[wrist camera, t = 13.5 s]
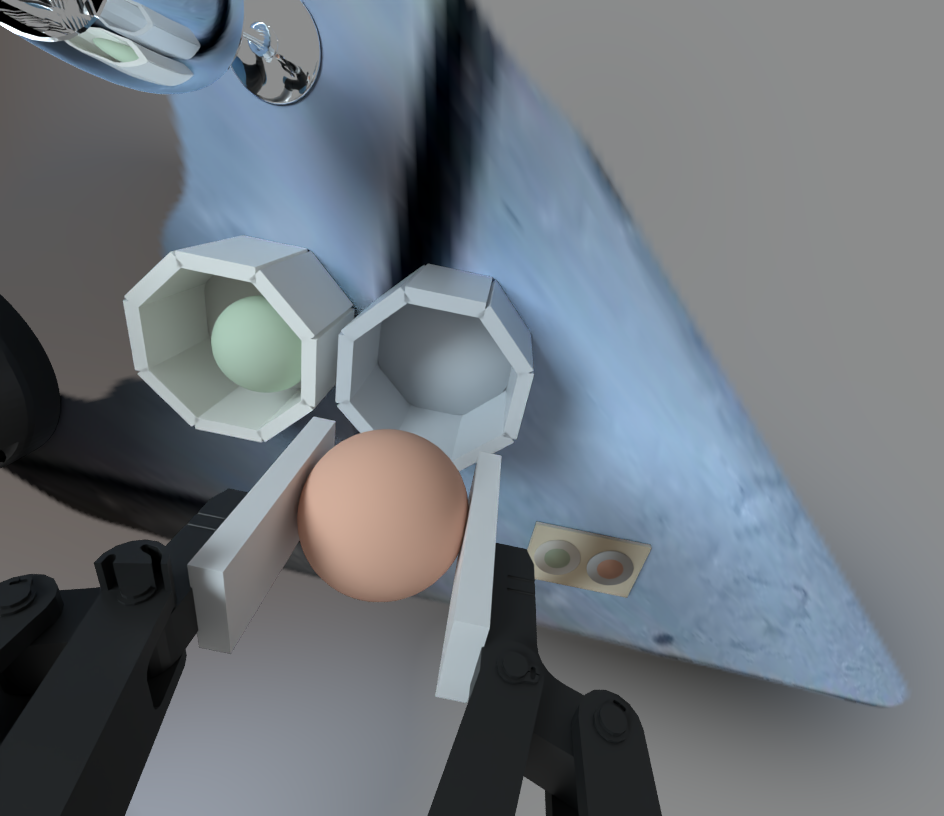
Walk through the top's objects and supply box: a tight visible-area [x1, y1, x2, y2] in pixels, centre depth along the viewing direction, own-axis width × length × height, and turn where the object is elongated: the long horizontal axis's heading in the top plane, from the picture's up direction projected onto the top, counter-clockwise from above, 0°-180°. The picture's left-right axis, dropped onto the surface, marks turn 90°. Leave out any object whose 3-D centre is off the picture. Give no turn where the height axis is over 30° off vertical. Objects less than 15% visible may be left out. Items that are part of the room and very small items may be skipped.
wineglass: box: [0, 0, 321, 105], centre depth 15 cm, size 6×6×12 cm
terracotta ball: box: [297, 429, 469, 602], centre depth 14 cm, size 5×5×5 cm
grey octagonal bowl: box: [335, 264, 534, 471], centre depth 24 cm, size 9×9×6 cm
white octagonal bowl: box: [123, 235, 355, 442], centre depth 24 cm, size 9×9×6 cm
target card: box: [527, 521, 651, 598], centre depth 32 cm, size 8×5×1 cm, turn 79°
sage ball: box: [211, 295, 302, 393], centre depth 24 cm, size 5×5×5 cm
